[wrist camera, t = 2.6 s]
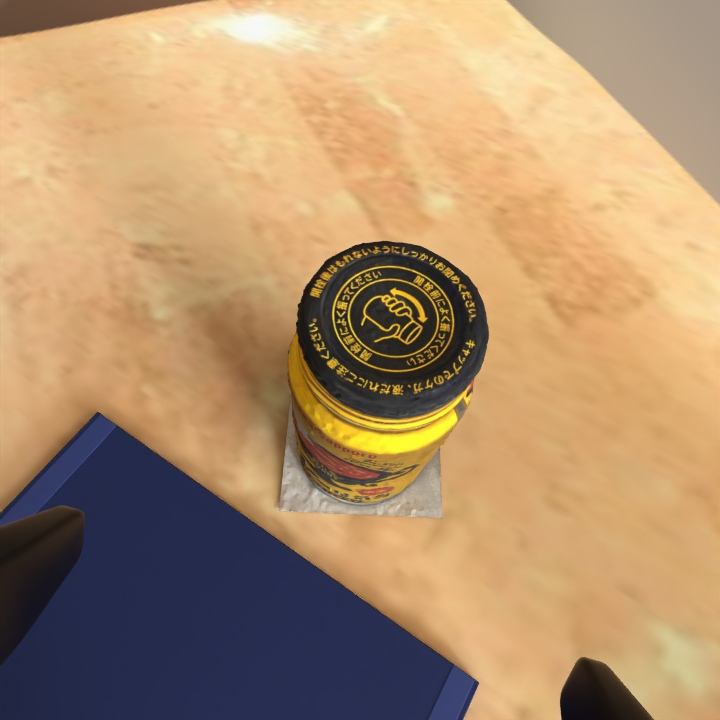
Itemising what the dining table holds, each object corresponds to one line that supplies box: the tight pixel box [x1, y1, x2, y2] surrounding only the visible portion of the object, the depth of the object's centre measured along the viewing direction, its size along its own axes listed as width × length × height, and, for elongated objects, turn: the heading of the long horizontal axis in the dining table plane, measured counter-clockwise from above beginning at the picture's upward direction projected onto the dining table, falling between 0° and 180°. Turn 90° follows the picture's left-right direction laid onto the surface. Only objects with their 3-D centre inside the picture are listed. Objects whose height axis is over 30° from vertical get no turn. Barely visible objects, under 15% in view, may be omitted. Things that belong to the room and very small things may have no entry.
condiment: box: [279, 241, 489, 518], centre depth 19 cm, size 7×8×12 cm
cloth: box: [0, 412, 479, 720], centre depth 19 cm, size 13×20×1 cm, turn 57°
